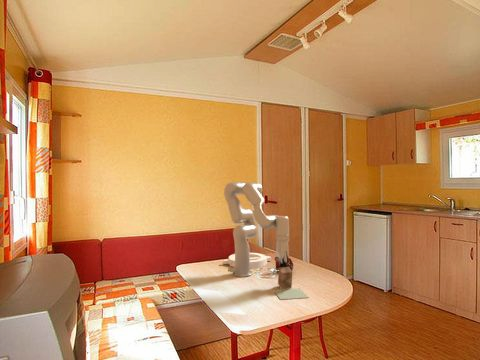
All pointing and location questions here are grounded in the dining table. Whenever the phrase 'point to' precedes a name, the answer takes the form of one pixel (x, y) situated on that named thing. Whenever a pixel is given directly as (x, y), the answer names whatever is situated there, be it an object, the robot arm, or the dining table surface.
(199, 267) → the dining table surface
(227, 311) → the dining table surface
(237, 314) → the dining table surface
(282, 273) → the walnut block
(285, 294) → the sage mat
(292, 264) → the toy fire truck
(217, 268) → the dining table surface
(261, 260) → the white circle with bar
